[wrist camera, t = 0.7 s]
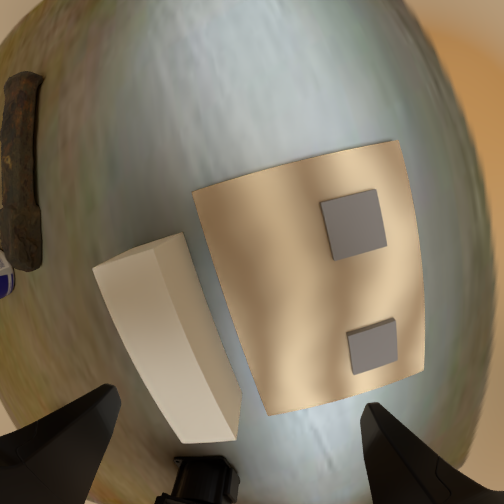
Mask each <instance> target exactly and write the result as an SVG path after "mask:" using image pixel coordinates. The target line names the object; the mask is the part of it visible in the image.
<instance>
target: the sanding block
mask: <svg viewBox="0 0 504 504" xmlns="http://www.w3.org/2000/svg"><path fill="white" fill-rule="evenodd" d="M92 270H93V272H94V275H95V278H96V280H97V283H98V286H99V288H100V291H101V293H102V296H103V298H104V301H105V303H106V306H107V308H108V310H109V313H110V315H111V317H112V319H113V322H114V324H115V326H116V328H117V331H118V333H119V335H120V337H121V339H122V341H123V343H124V345H125V347H126V349H127V351H128V353H129V355H130V357H131V359H132V361H133V363H134V365H135V367H136V369H137V371H138V372H139V374H140V376H141V378H142V380H143V382H144V383H145V385H146V387H147V389H148V390H149V392H150V394H151V395H152V397H153V399H154V400H155V402H156V404H157V405H158V407H159V409H160V410H161V412H162V413H163V415H164V417H165V418H166V420H167V421H168V423H169V424H170V426H171V427H172V429H173V430H174V432H175V433H176V435H177V436H178V438H179V439H180V441H181V442H182V443H207V442H222V441H233V440H236V439H237V431H238V424H239V416H240V408H241V400H242V391H241V389H240V387H239V384H238V382H237V379H236V377H235V374H234V372H233V370H232V367H231V365H230V362H229V360H228V357H227V355H226V352H225V350H224V347H223V344H222V342H221V339H220V337H219V334H218V331H217V329H216V326H215V323H214V321H213V318H212V315H211V313H210V310H209V307H208V304H207V302H206V299H205V296H204V293H203V290H202V288H201V285H200V282H199V279H198V276H197V273H196V270H195V267H194V264H193V261H192V258H191V255H190V252H189V249H188V246H187V243H186V240H185V237H184V234H183V232H181V233H178V234H175V235H171V236H168V237H165V238H162V239H159V240H156V241H153V242H150V243H146V244H143V245H140V246H137V247H134V248H132V249H129V250H127V251H125V252H123V253H121V254H119V255H117V256H115V257H113V258H111V259H109V260H107V261H105V262H103V263H101V264H100V265H98V266H96V267H94V268H92Z"/></svg>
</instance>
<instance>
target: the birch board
mask: <svg viewBox="0 0 504 504" xmlns="http://www.w3.org/2000/svg"><path fill="white" fill-rule="evenodd" d="M371 189H376V190H377V194H378V199H379V204H380V208H381V213H382V218H383V223H384V229H385V235H386V240H387V246H386V247H383V248H379V249H376V250H372V251H369V252H365V253H362V254H359V255H355V256H352V257H348V258H344V259H341V260H337V261H334V260H333V259H332V254H331V249H330V245H329V241H328V236H327V232H326V228H325V224H324V219H323V215H322V211H321V207H320V203H319V202H323V201H327V200H331V199H335V198H339V197H343V196H347V195H351V194H355V193H359V192H363V191H367V190H371ZM192 195H193V199H194V202H195V205H196V209H197V212H198V215H199V219H200V222H201V225H202V229H203V232H204V235H205V238H206V241H207V245H208V248H209V251H210V254H211V257H212V260H213V263H214V266H215V270H216V273H217V276H218V279H219V282H220V285H221V288H222V291H223V294H224V297H225V300H226V303H227V306H228V309H229V311H230V314H231V317H232V320H233V323H234V326H235V329H236V332H237V334H238V337H239V340H240V343H241V346H242V348H243V351H244V354H245V357H246V359H247V362H248V365H249V368H250V370H251V373H252V376H253V378H254V381H255V384H256V386H257V389H258V392H259V394H260V397H261V400H262V402H263V405H264V407H265V410H266V412H267V415H268V416H271V415H276V414H282V413H287V412H292V411H296V410H301V409H306V408H310V407H314V406H318V405H322V404H326V403H330V402H334V401H337V400H341V399H344V398H348V397H351V396H355V395H358V394H361V393H364V392H367V391H370V390H373V389H376V388H379V387H382V386H385V385H388V384H390V383H393V382H396V381H399V380H401V379H404V378H406V377H409V376H411V375H414V374H416V373H419V372H421V371H423V370H424V353H425V305H424V285H423V272H422V261H421V252H420V243H419V236H418V229H417V222H416V216H415V210H414V205H413V199H412V194H411V189H410V185H409V180H408V176H407V171H406V167H405V163H404V159H403V155H402V151H401V148H400V144H399V140H396V141H390V142H385V143H379V144H374V145H368V146H363V147H358V148H353V149H349V150H344V151H339V152H335V153H330V154H326V155H321V156H317V157H313V158H309V159H304V160H300V161H296V162H292V163H288V164H284V165H281V166H277V167H273V168H269V169H266V170H262V171H258V172H255V173H251V174H248V175H244V176H241V177H237V178H234V179H231V180H227V181H224V182H221V183H218V184H214V185H211V186H208V187H205V188H202V189H199V190H196V191H193V192H192ZM390 318H394V319H395V320H396V328H397V350H398V361H395V362H392V363H389V364H387V365H384V366H381V367H378V368H375V369H372V370H369V371H366V372H363V373H360V374H357V375H353V373H352V368H351V361H350V353H349V347H348V340H347V334H346V332H350V331H353V330H356V329H359V328H362V327H366V326H369V325H372V324H375V323H378V322H381V321H384V320H387V319H390Z"/></svg>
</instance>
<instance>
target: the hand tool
mask: <svg viewBox="0 0 504 504" xmlns="http://www.w3.org/2000/svg"><path fill="white" fill-rule="evenodd" d="M42 82H43V78H42V76H40V75H37V74H35V73H33V72H28V71H24V72H20V73H18V74H16V75H14V76H12V77H9V78H8V80H7V82H6V83H5V85H4V94H5V106H4V112H3V121H2V128H1V131H0V141H1V142H2V144H1V151H2V152H1V162H2V197H3V200H2V205H3V208H2V209H1V210H0V239H1V240H2V242H1V245H2V248H3V250H4V253H5V258H6V260H7V261H8V262H9V263H10V265H11V266H12V267H14V268H16V269H18V270H23V271H25V272H31V271H33V270H36V269H38V268H39V267H40V265H41V260H42V248H41V247H42V239H41V211H40V208H39V207H38V206H37V205H36V203H35V198H34V190H33V164H34V161H33V130H34V111H35V99H36V91H37V87H38V86H39V85H40V84H41V83H42Z"/></svg>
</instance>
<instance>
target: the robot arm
mask: <svg viewBox="0 0 504 504" xmlns="http://www.w3.org/2000/svg"><path fill="white" fill-rule="evenodd" d="M120 407H121V399H120V396H119V394H118V391H117V388H116V387H115V386H114V385H111V384H103V385H101V386H100V387H98V388H96V389H94V390H93V391H91V392H89V393H87V394H85V395H84V396H82V397H80V398H78V399H76V400H75V401H73V402H71V403H69V404H67V405H65V406H64V407H62V408H60V409H58V410H56V411H54V412H52V413H51V414H49V415H47V416H45V417H43V418H41V419H39V420H38V421H35V422H33V423H31V424H29V425H27V426H25V427H23V428H21V429H19V430H16V431H14V432H12V433H9V434H6V435H3V436H0V504H84V503H85V500H86V498H87V495H88V493H89V490H90V488H91V485H92V482H93V480H94V477H95V475H96V473H97V470H98V468H99V465H100V463H101V460H102V458H103V456H104V453H105V451H106V449H107V446H108V444H109V442H110V439H111V437H112V433H113V430H114V427H115V424H116V420H117V417H118V414H119V410H120ZM360 425H361V435H362V445H363V455H364V461H365V466H366V471H367V475H368V480H369V485H370V490H371V495H372V500H373V504H504V491H493V490H490V489H487V488H485V487H483V486H482V485H480V484H478V483H476V482H475V481H474V480H472V479H470V478H469V477H467V476H466V475H464V474H462V473H461V472H460V471H458V470H457V469H455V468H454V467H452V466H451V465H450V464H449V463H447V462H446V461H445V460H444V459H443V458H441V457H440V456H438V454H437V453H435V452H434V451H433V450H432V449H431V448H430V447H428V446H427V445H426V444H425V443H424V442H423V441H421V440H420V439H419V438H418V437H417V436H416V435H415V434H413V433H412V432H411V431H410V430H409V429H408V428H407V427H405V426H404V425H403V424H402V423H401V422H400V421H399V420H398V419H396V418H395V417H394V416H393V415H392V414H391V413H390V412H388V411H387V410H386V409H385V408H384V407H383V406H382V405H381V404H380V403H378V402H373V403H367V404H366V406H365V408H364V411H363V414H362V416H361V419H360ZM174 462H175V464H176V465H177V466H178V467H179V470H178V473H177V477H176V480H175V483H174V486H173V490H172V493H171V495H168V494H167V493H162V495H161V496H157V498H156V501H155V503H154V504H232V503H236V502H237V495H238V486H239V484H240V480H239V477H238V475H237V474H236V472H235V471H234V469H233V468H231V466H230V465H229V463H228V462H227V460H226V459H225V458H224V457H222V456H217V457H175V458H174Z"/></svg>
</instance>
